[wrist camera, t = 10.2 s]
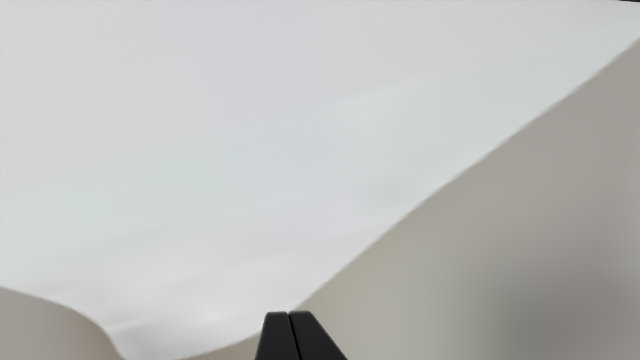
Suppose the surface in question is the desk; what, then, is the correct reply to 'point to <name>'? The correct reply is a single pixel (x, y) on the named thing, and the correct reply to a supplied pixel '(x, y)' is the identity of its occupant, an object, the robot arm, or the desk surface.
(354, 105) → the desk surface
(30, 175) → the desk surface
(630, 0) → the robot arm
